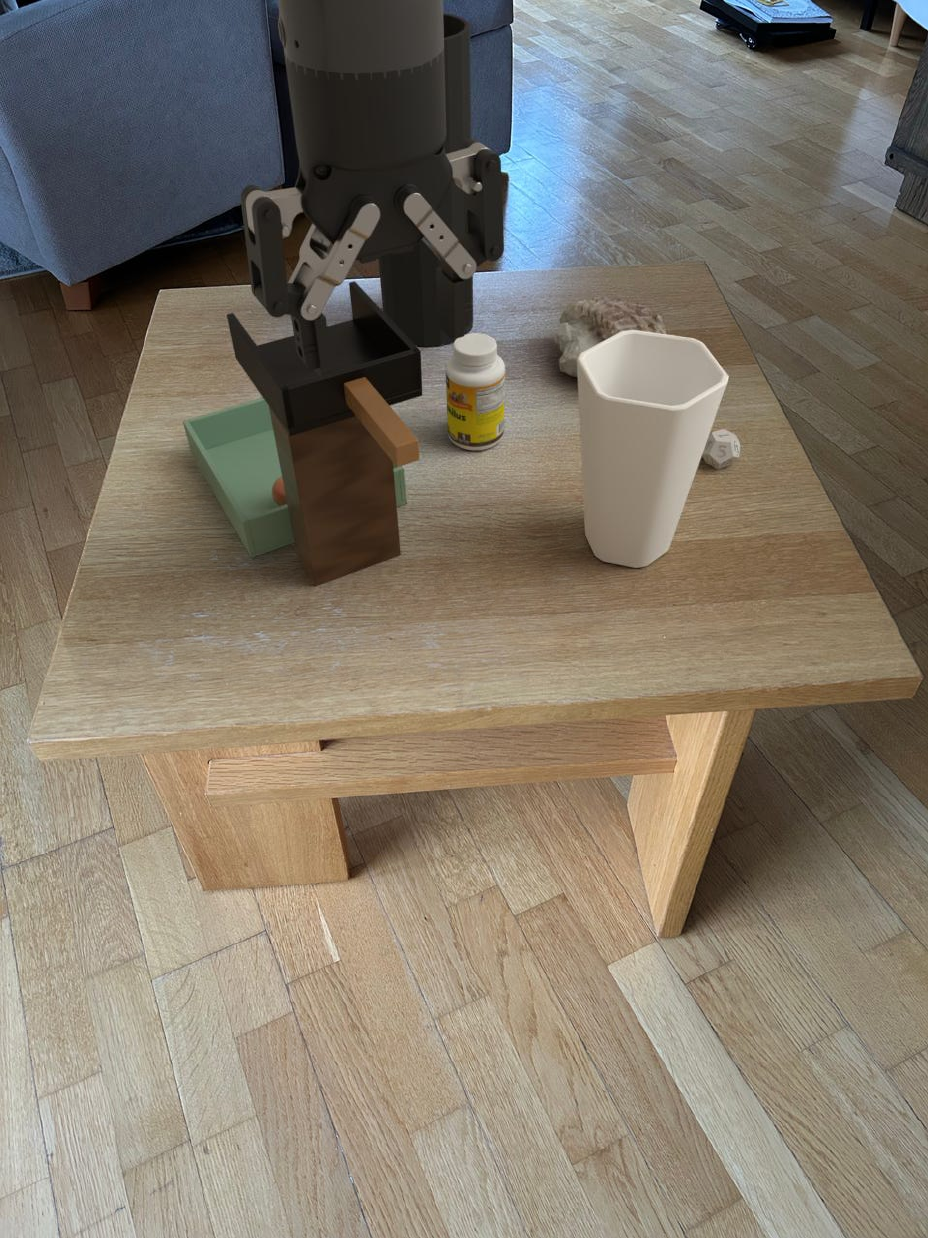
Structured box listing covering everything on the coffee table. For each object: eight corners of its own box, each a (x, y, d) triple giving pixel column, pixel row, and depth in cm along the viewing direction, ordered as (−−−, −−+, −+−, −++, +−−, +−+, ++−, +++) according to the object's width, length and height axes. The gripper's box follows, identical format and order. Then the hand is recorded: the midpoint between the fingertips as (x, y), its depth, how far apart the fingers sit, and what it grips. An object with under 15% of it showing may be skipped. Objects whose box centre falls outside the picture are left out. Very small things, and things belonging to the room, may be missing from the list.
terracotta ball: (281, 513, 84) (270, 480, 83) (274, 512, 87) (263, 481, 86) (313, 503, 85) (302, 470, 84) (305, 502, 88) (295, 471, 87)
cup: (699, 516, 85) (736, 343, 73) (682, 592, 78) (719, 416, 66) (577, 493, 88) (592, 323, 75) (550, 565, 81) (562, 391, 69)
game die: (742, 471, 90) (749, 445, 87) (704, 474, 89) (709, 448, 87) (730, 449, 92) (736, 423, 90) (693, 452, 92) (698, 426, 90)
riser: (315, 586, 80) (282, 402, 67) (297, 558, 82) (262, 375, 69) (401, 554, 82) (385, 371, 69) (381, 528, 85) (363, 347, 72)
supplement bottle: (439, 428, 95) (435, 335, 88) (490, 415, 97) (490, 322, 89) (460, 459, 92) (458, 364, 84) (513, 445, 93) (515, 351, 86)
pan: (337, 504, 59) (331, 458, 57) (235, 358, 71) (226, 313, 68) (477, 457, 62) (478, 410, 60) (358, 324, 74) (354, 280, 71)
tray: (251, 558, 82) (242, 522, 79) (191, 455, 93) (182, 420, 90) (407, 503, 87) (404, 468, 84) (334, 411, 98) (329, 377, 95)
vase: (373, 341, 107) (344, 39, 86) (398, 298, 114) (377, 8, 92) (461, 351, 105) (455, 45, 84) (482, 307, 112) (481, 13, 91)
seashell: (526, 323, 104) (582, 245, 98) (586, 345, 110) (642, 273, 104) (581, 413, 96) (645, 334, 90) (641, 431, 102) (705, 359, 96)
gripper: (245, 88, 40) (298, 416, 52) (535, 37, 45) (524, 348, 56) (192, 43, 45) (251, 353, 56) (459, 0, 49) (463, 295, 61)
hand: (387, 350), depth 56 cm, fingers open, 8 cm apart
